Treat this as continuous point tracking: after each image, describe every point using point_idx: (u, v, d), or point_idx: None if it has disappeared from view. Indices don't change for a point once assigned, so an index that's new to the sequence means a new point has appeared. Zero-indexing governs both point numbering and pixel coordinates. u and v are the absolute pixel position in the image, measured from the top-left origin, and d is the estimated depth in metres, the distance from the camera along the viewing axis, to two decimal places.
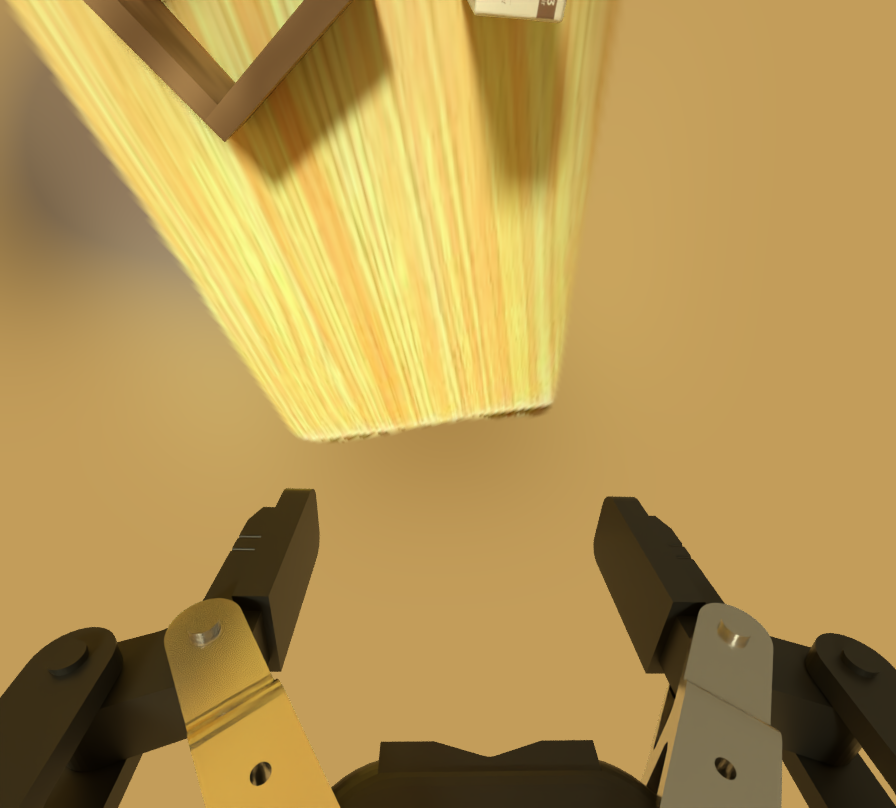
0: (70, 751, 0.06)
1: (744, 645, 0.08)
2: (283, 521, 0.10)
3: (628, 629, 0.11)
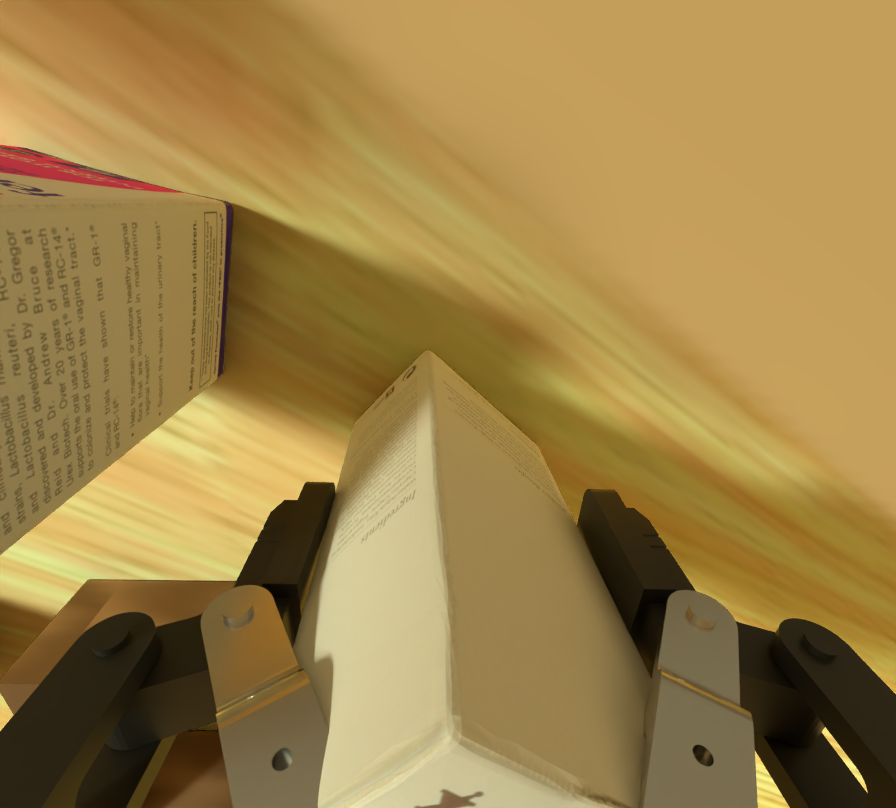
0: (107, 731, 0.06)
1: (710, 629, 0.08)
2: (306, 513, 0.11)
3: None
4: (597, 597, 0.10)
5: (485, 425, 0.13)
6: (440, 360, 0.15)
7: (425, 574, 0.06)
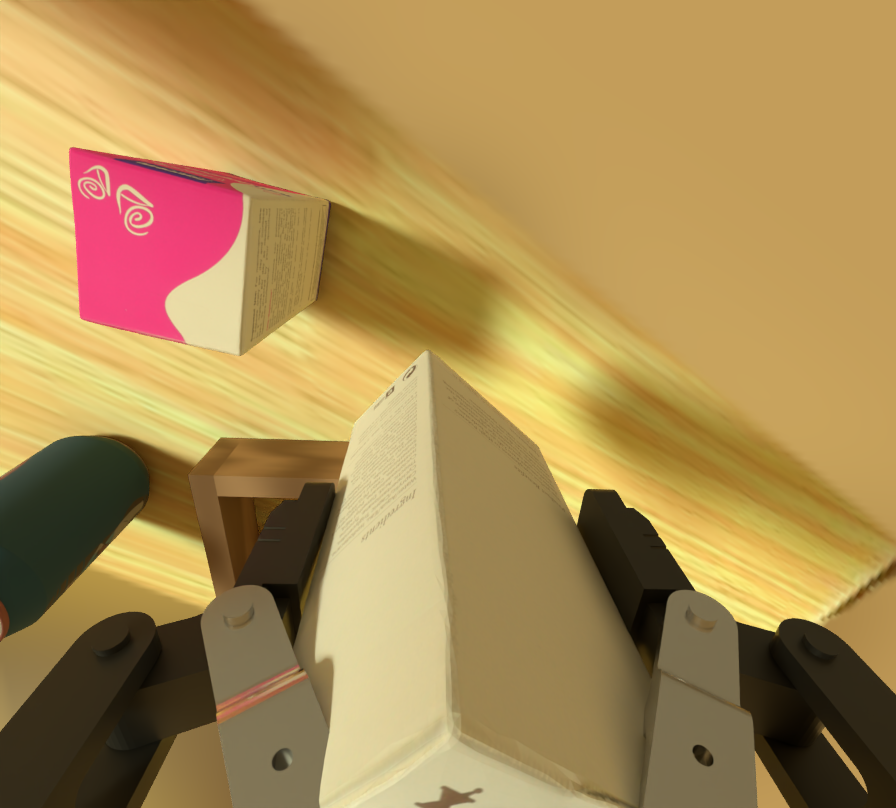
0: (108, 731, 0.06)
1: (709, 629, 0.08)
2: (306, 513, 0.11)
3: None
4: (596, 596, 0.10)
5: (485, 425, 0.13)
6: (440, 360, 0.15)
7: (425, 572, 0.06)
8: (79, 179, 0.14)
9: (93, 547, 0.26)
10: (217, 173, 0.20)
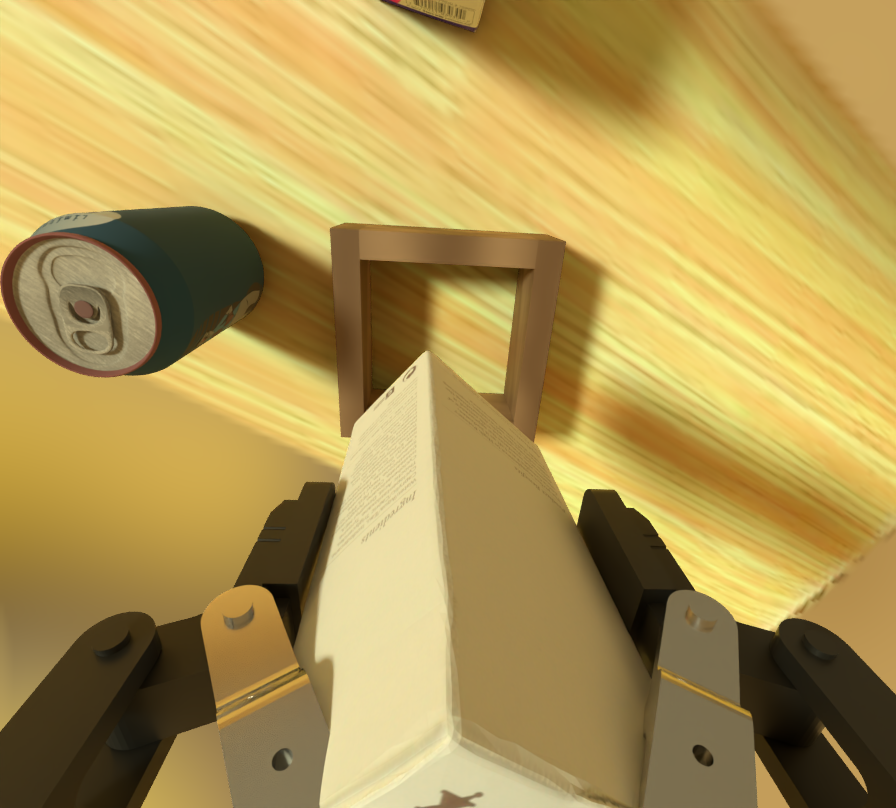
0: (107, 731, 0.06)
1: (709, 629, 0.08)
2: (306, 513, 0.11)
3: None
4: (597, 597, 0.10)
5: (485, 426, 0.13)
6: (440, 361, 0.15)
7: (425, 574, 0.06)
8: None
9: (227, 303, 0.23)
10: None
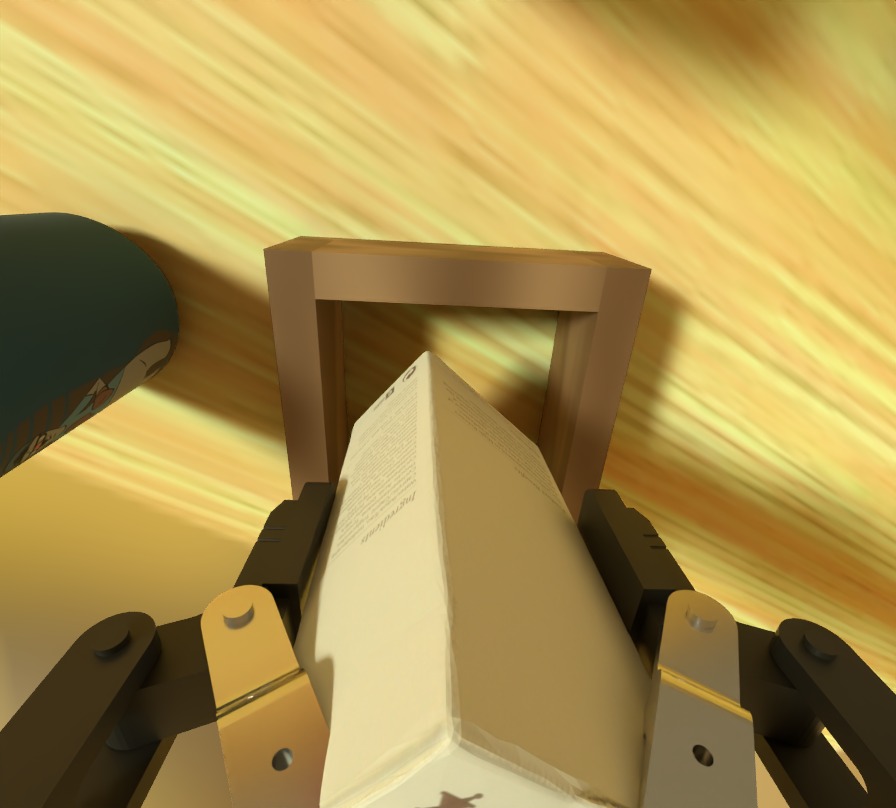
0: (108, 731, 0.06)
1: (709, 629, 0.08)
2: (306, 513, 0.11)
3: None
4: (597, 598, 0.10)
5: (485, 426, 0.13)
6: (440, 361, 0.15)
7: (425, 575, 0.06)
8: None
9: (86, 378, 0.13)
10: None
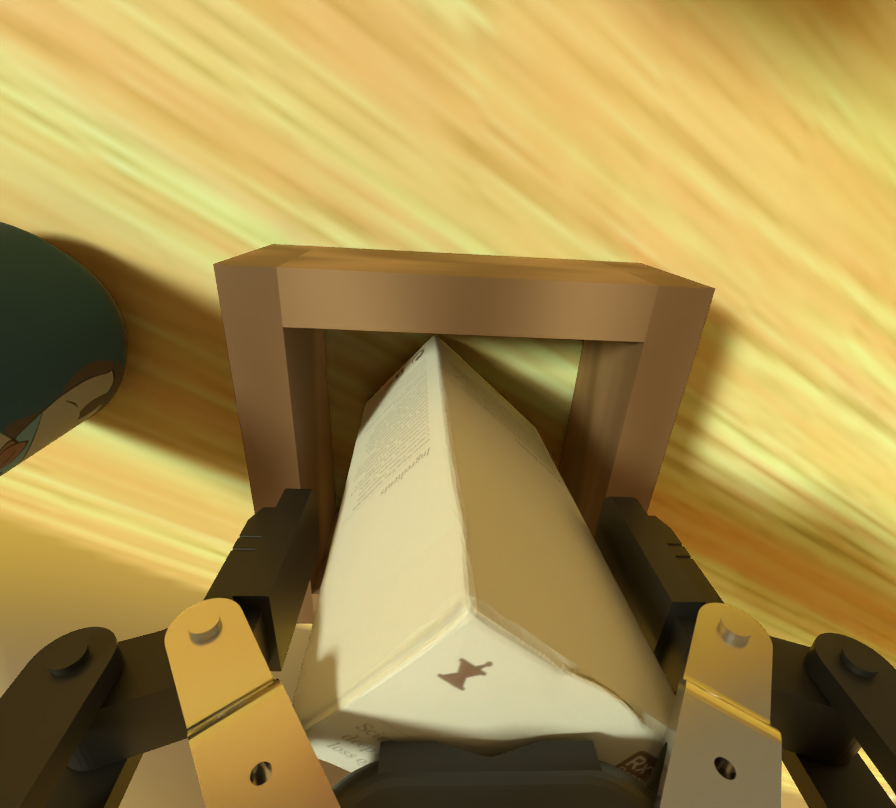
0: (70, 751, 0.06)
1: (744, 645, 0.08)
2: (283, 521, 0.10)
3: None
4: (588, 549, 0.11)
5: (488, 402, 0.14)
6: (446, 345, 0.16)
7: (442, 507, 0.08)
8: None
9: None
10: None
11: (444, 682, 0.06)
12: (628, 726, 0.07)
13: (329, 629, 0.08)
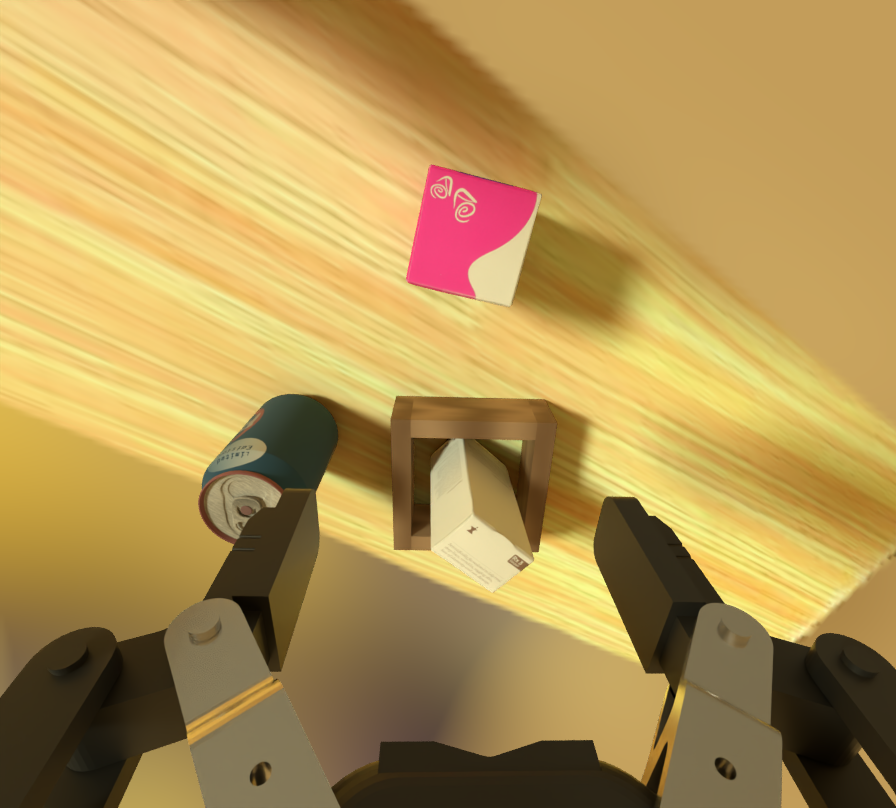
0: (70, 751, 0.06)
1: (744, 645, 0.08)
2: (283, 521, 0.10)
3: (628, 629, 0.11)
4: (513, 512, 0.33)
5: (482, 459, 0.37)
6: None
7: (466, 496, 0.30)
8: (432, 185, 0.21)
9: (321, 476, 0.33)
10: None
11: (468, 532, 0.28)
12: (510, 546, 0.29)
13: (437, 527, 0.30)
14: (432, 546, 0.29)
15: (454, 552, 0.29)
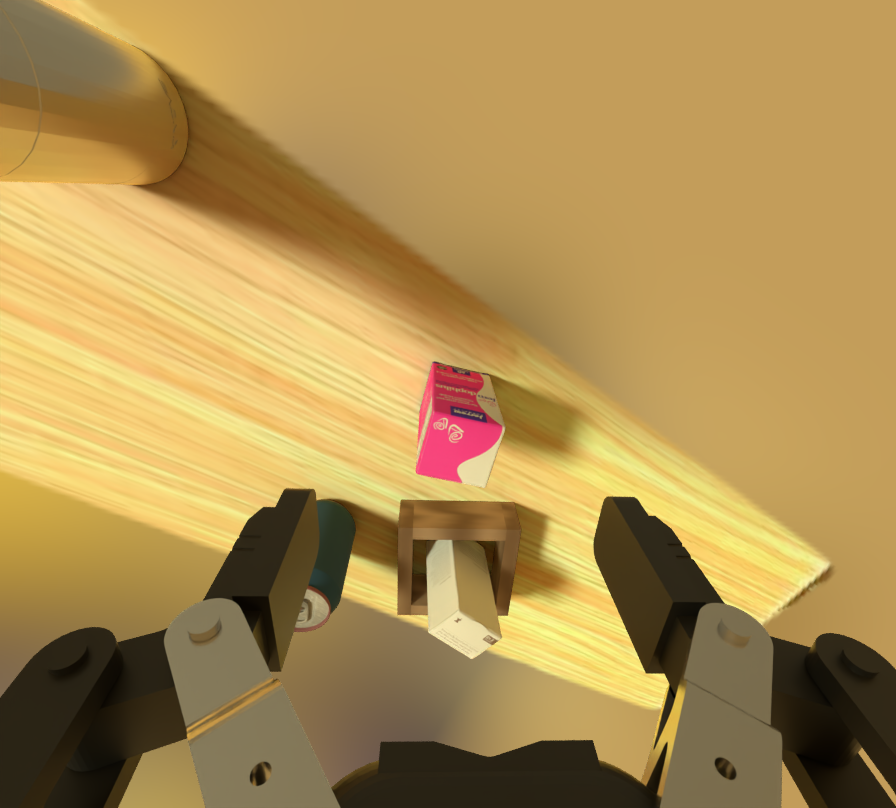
0: (70, 751, 0.06)
1: (744, 645, 0.08)
2: (283, 521, 0.10)
3: (628, 629, 0.11)
4: (488, 596, 0.45)
5: (466, 550, 0.48)
6: None
7: (454, 592, 0.42)
8: (435, 422, 0.32)
9: (346, 570, 0.44)
10: (448, 380, 0.39)
11: (455, 621, 0.40)
12: (484, 630, 0.41)
13: (433, 614, 0.42)
14: (429, 629, 0.41)
15: (445, 634, 0.41)
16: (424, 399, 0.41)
